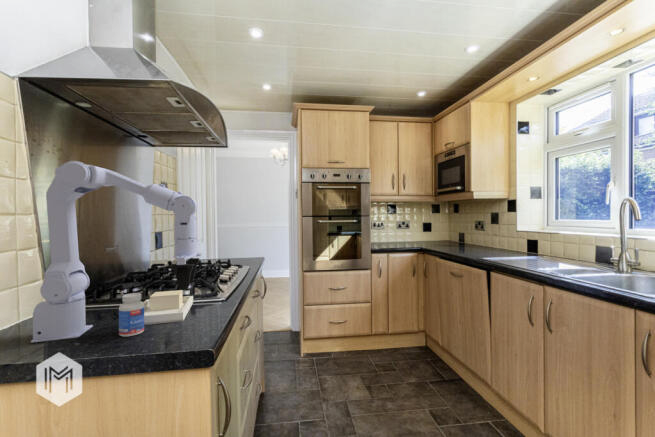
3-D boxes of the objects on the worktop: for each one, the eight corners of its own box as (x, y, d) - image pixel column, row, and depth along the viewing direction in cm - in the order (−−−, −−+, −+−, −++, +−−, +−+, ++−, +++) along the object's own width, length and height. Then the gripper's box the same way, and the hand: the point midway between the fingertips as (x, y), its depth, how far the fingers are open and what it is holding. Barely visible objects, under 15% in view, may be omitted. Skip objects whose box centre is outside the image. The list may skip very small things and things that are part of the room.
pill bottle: (131, 338, 71) (131, 298, 71) (113, 336, 72) (112, 297, 72) (149, 329, 76) (149, 292, 76) (132, 328, 78) (131, 291, 77)
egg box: (150, 311, 89) (149, 296, 89) (155, 305, 95) (155, 292, 95) (179, 308, 92) (179, 294, 92) (183, 303, 97) (182, 290, 97)
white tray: (126, 327, 78) (125, 317, 78) (146, 307, 95) (146, 299, 95) (183, 321, 82) (183, 312, 82) (193, 303, 99) (193, 295, 99)
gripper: (197, 240, 76) (197, 291, 77) (204, 236, 90) (204, 280, 90) (167, 240, 74) (168, 293, 75) (179, 237, 88) (179, 281, 89)
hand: (186, 286), depth 82 cm, fingers open, 7 cm apart
